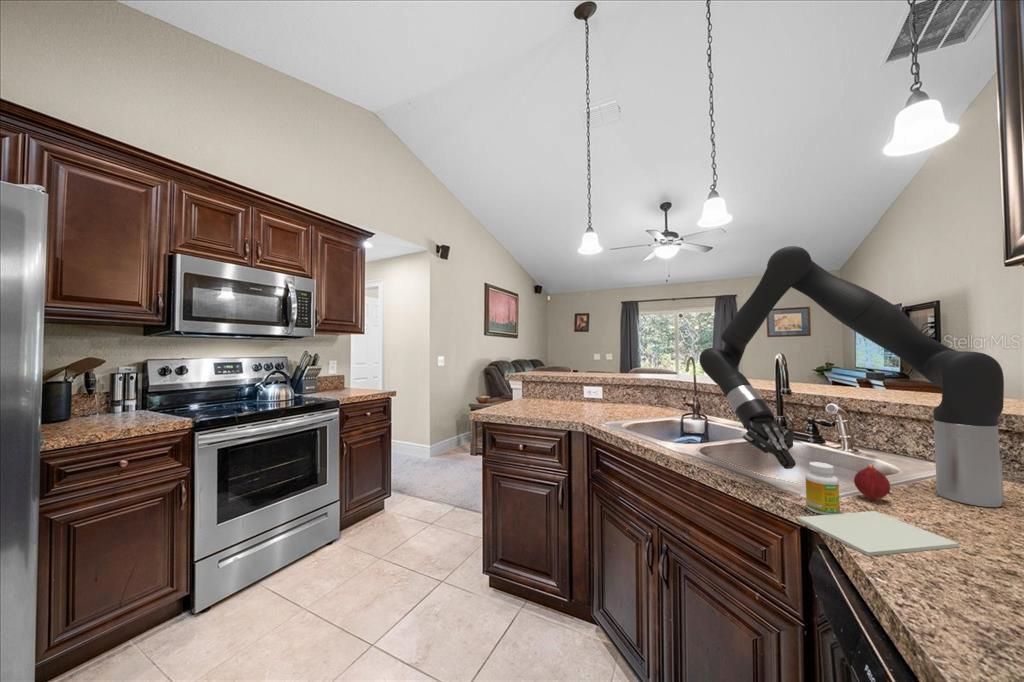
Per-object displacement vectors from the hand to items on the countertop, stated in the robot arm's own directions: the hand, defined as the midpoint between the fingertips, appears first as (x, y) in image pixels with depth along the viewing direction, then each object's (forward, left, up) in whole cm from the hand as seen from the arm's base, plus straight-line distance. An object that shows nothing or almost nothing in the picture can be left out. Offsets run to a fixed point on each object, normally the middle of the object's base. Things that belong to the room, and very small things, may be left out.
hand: (790, 467), depth 85 cm
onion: (-16, +4, -7) cm, 18 cm away
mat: (0, +17, -7) cm, 18 cm away
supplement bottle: (0, +7, -7) cm, 10 cm away
